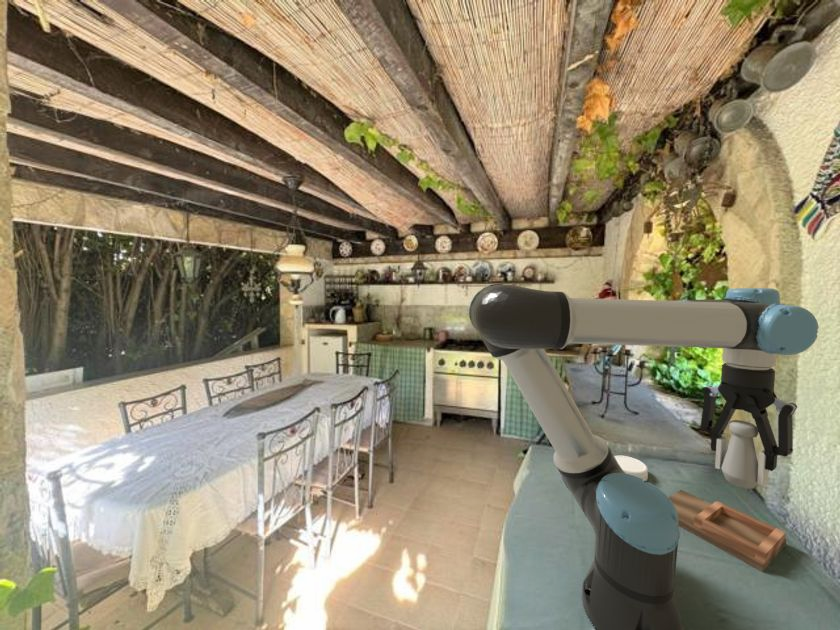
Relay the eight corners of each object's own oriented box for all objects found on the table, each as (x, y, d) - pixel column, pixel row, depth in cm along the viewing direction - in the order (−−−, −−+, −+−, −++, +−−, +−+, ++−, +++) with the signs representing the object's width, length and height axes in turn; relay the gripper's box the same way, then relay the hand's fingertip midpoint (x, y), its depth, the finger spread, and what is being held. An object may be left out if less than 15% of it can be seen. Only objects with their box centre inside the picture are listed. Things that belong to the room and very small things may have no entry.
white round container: (654, 477, 99) (654, 466, 98) (636, 487, 94) (637, 476, 93) (620, 461, 107) (620, 451, 107) (602, 470, 102) (603, 460, 102)
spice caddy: (762, 571, 66) (764, 556, 65) (653, 511, 83) (654, 499, 83) (785, 545, 72) (787, 530, 72) (680, 494, 90) (681, 482, 90)
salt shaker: (768, 492, 64) (773, 429, 63) (738, 492, 64) (742, 429, 63) (740, 474, 70) (744, 416, 68) (713, 474, 70) (716, 417, 69)
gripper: (827, 373, 58) (816, 494, 60) (699, 354, 75) (694, 449, 77) (813, 379, 54) (802, 508, 57) (682, 358, 71) (677, 458, 73)
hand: (740, 474), depth 67 cm, fingers closed on salt shaker, 6 cm apart
